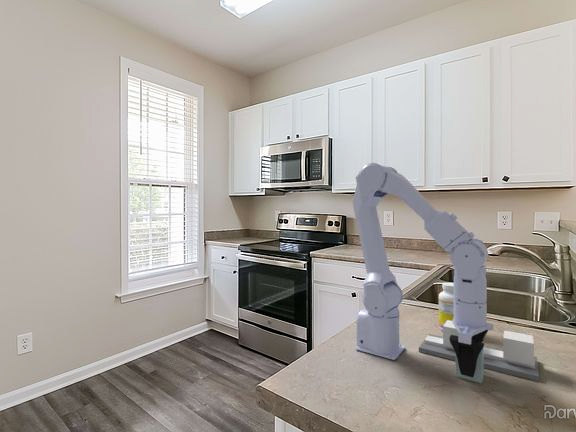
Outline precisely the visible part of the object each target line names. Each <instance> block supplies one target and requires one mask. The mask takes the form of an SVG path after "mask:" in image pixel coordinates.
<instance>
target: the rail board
mask: <svg viewBox="0 0 576 432" xmlns="http://www.w3.org/2000/svg"><path fill="white" fill-rule="evenodd" d="M503 331H504V332H503V336H502V337H503V338H502V342H503V344H502V345H503V346H502V347H503V348H502V349H501V348H497V347H493V346H492V347H491V346H487V345H484V369H487V370H491V371H495V372H499V373H503V374H507V375H509V376H510V375H511V376H515V377H519V378H523V379H527V380H530V381H535V382H538V383H539V382H540V373H539V372H540V371H539V365H538V364H539V363H538V357H537V356H534V353H535V352H534V351H535V350H534V348H535V346H534V335H529V334H526V333H520V332H514V331H509V330H503ZM451 335H455V336H458V331H457V329H456V328H455V326H454V325H453V321H450V320H447V321H446V323H445V324H444V326H443V331H442V336H440V335H435V334H431V333H428V334H427V336H426V337H425V339H424V340H423V341H422V342H421V344H420V345H419V347H418V353H423V354H427V355H431V356H435V357H438V358H443V359H447V360H451V361H455V362H456V353H455V351H454V348H453V347H452V345H451V343H450V340H449V339H450V336H451Z"/></svg>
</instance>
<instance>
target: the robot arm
mask: <svg viewBox="0 0 576 432" xmlns="http://www.w3.org/2000/svg"><path fill="white" fill-rule="evenodd" d="M355 180H356V181H355V182H356V187H355V190H354V195H353V199H352V207H353V211H354V216H355V222H356V225H357V226H356V227H357V232H358V236H359V241H360V242H359V243H360V246H361V250H362V256H363V260H364V266H365V270H366V271H365V272H366V276H365V278H364V281H363V286H362V287H363V290H364V291H363V295H362V302H363V303H362V304H363V306H364V308H363V309H361V310H360V311H358V315H357V319H356V347H355V350H356V351H360V352H364V353H367V354H371V355H374V356H379V357H381V358H384V359H389V360H392V361H395V360H397V358H398V357H399V356H400V355H401V353H403V351H404V350H405V349H406V346H405V345H402V344H400V310H399V306H400V305H401V303H402V302H403V299H404V294H403V293H404V292H403V291H402V288H401V287H400V286H399V284H398V282H397V280H396V279H397V278H396V275H395V274H394V273H393V272H392V271H391V269H390V265H389V261H388V256H387V251H386V247H385V242H384V238H383V233H382V228H381V223H380V220H379V218H380V217H379V214H378V210H377V206H379V204H380V202H381V201H382V200H383V198H384V197H386V196H387V195H393V196H397V197H398V198H400V200H401V201H403V203H405V204H406V205H407V206H408V207H409V208H410V209H411V210H412V211H413V212H414V213H416V215H418V216H419V217H420V218H421V219H422V220H423V222H424V223H423V224H424V226H423V228H424V230H425V232H426V233H427V234H428V235H430V237H432V239H433V240H435V242H436V243H437V244H438V245H439V246H440V247H441V248H442V249H443V250H444V251H445V252H447V253H448V254H449V253H450V254H449V259H450V261H451V264H452V265H453V267H454V268H453V269H454V271H453V272H454V273H453V274H454V275H453V283H454V318H453V325H454V326H455V328H456V329H457V331H458V336H455V335H451V336H450V339H449V340H450V343H451V345H452V347H453V348H454V351H455V353H456V356H457V360H458V365H459V369H460V373H461V375H465V376H469V377H472V378H473V377H474V374H475V370H476V364H477V359H478V356H479V354H480V352H481V350H482V349H483V347H484V346H485V343H484V342H483V341H484V339H485V336H486V335H487V333H488V332H489V331H494V329H495V326H494V324H493V323H488V321H487V317H488V315H487V313H488V312H487V311H488V309H487V305H488V304H487V299H488V297H487V295H488V294H487V287H488V286H487V285H488V284H487V277H486V275H487V269H486V265H485V263H486V262H487V260H488V258H489V250H488V248H487V246H486V245H485V244H484V242H483V240H481V239H479V238H474V237H475V236H476V234H475V233H474V232H471V231H470V232H469V231H468V230H467V229H466V228H465V227H463V226H462V225H461V224H460V223H459V221H457V219H458V217H457V215H456V214H454V213H449V212H448V211H446V210H437V209H436V208H435V207H434V206H433V205H432V204H431V202H429V201H428V200H427V199H426V198H425V197H424V195H423V194H421V193H420V191H419V190H418V189H417V188H416V187H415V186H414V185H413V184H412V183H411V182H410V181H409V180H408V179H407V178H406V176H404V175H403V174H402V173H399V172H398V170H396V168H393V167H392V166H385V165H381V164H379V163H377V162H370V163H367V164H364V165H363V167H362V168H361V169H360V171H359V172H358V173H357V175H356V177H355Z"/></svg>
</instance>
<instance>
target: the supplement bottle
mask: <svg viewBox="0 0 576 432" xmlns="http://www.w3.org/2000/svg"><path fill="white" fill-rule="evenodd" d="M441 286H442V291H440V293H439V294H438V328H439V330H440V331H442V332H443V326H444V324H445V323H446V321H447V320H450V321H453V318H454V282H443V283H442V285H441Z"/></svg>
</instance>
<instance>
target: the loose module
mask: <svg viewBox="0 0 576 432" xmlns="http://www.w3.org/2000/svg"><path fill="white" fill-rule="evenodd" d="M455 377H456V378H461V379H464V380H469V381H472V382H476V383H479V384H483V380H484V377H485V368H484V347H483V349H482V350H481V352H480V354H479V356H478V359H477V364H476V370H475V374H474V377H473V378H472V377H469V376H465V375H461V373H460V369H459V365H458V360H457V356H456V361H455Z"/></svg>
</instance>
